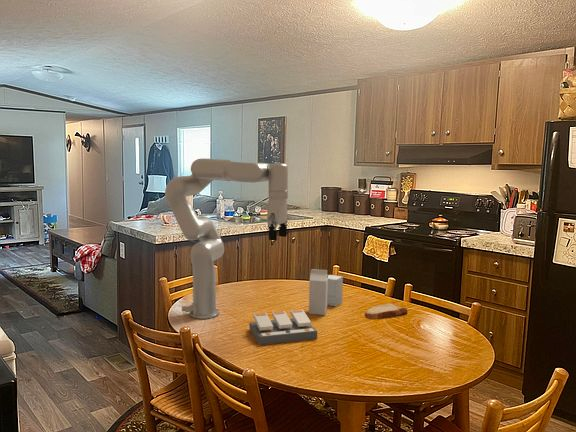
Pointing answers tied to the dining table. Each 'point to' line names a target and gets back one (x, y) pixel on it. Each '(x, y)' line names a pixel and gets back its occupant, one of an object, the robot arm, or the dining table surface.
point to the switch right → (300, 317)
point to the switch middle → (282, 319)
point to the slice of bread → (384, 311)
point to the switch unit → (282, 333)
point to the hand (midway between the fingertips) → (277, 238)
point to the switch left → (263, 321)
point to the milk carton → (318, 292)
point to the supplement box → (334, 290)
